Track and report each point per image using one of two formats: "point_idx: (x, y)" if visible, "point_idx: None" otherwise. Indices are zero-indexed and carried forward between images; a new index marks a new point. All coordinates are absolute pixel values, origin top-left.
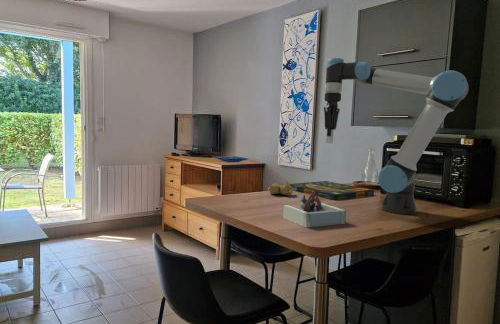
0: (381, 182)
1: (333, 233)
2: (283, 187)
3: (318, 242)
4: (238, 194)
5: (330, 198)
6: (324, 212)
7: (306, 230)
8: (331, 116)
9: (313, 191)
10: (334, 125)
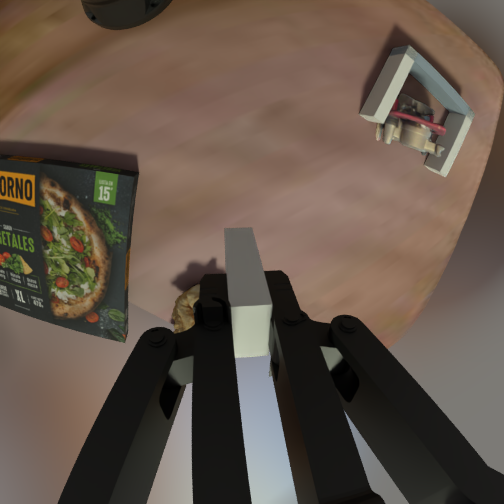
0: None
1: (457, 62)
2: None
3: (492, 79)
4: None
5: (136, 187)
6: (450, 85)
7: None
8: (358, 466)
9: (444, 128)
10: (204, 354)
